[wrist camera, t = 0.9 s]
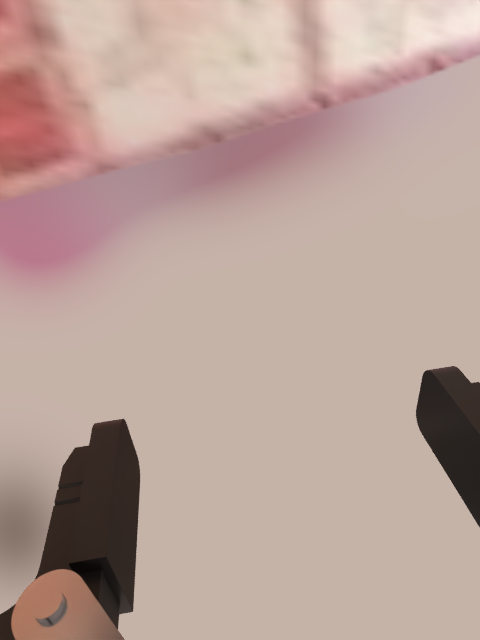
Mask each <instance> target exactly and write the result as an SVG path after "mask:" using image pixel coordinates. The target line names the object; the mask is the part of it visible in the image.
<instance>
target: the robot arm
mask: <svg viewBox="0 0 480 640" xmlns="http://www.w3.org/2000/svg"><path fill="white" fill-rule="evenodd" d="M416 418H417V423H418V426H419V429H420V431H421V433H422V435H423V436H424V438H425V439H426V441H427V443H428V444H429V446H430V447H431V449H432V451H433V453H434V454H435V456H436V457H437V459H438V461H439V462H440V464H441V465H442V467H443V469H444V470H445V472H446V473H447V475H448V477H449V478H450V480H451V482H452V483H453V485H454V487H455V488H456V490H457V491H458V493H459V494H460V496H461V498H462V499H463V501H464V503H465V504H466V506H467V508H468V509H469V511H470V512H471V514H472V516H473V517H474V519H475V520H476V522H477V524H478V525H479V527H480V383H479V382H476V383H470V381H469V380H468V379H467V378H466V377H465V376H464V374H463V373H462V372H461V371H460V370H459V369H458V368H457V367H455V366H451V367H445V368H439V369H433V370H427V371H425V372H424V374H423V377H422V382H421V388H420V393H419V398H418V403H417V409H416ZM58 486H59V490H57V494H56V498H55V506H54V507H53V512H52V516H51V520H50V525H49V529H48V533H47V538H46V542H45V546H44V551H43V555H42V560H41V564H40V568H39V571H38V574H37V576H36V578H35V580H34V581H33V582H32V583H31V584H30V585H29V586H28V587H27V588H26V589H25V590H24V592H23V593H22V594H21V596H20V597H19V599H18V601H17V603H16V604H15V605H14V606H12V607H11V608H10V609H8V610H7V611H5V612H4V613H2V614H0V640H124V638H123V637H122V635H121V634H120V633H119V631H118V620H119V614H122V613H128V612H133V601H134V582H135V564H136V547H137V527H138V509H139V491H140V468H139V461H138V457H137V454H136V451H135V448H134V445H133V442H132V439H131V436H130V433H129V430H128V427H127V424H126V422H125V420H124V419H119V420H113V421H107V422H101V423H95V424H94V425H93V428H92V433H91V439H90V444H89V446H83V447H77V448H75V449H74V450H73V452H72V453H71V455H70V456H69V458H68V459H67V461H66V462H65V464H64V465H63V468H62V472H61V477H60V481H59V485H58Z"/></svg>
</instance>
